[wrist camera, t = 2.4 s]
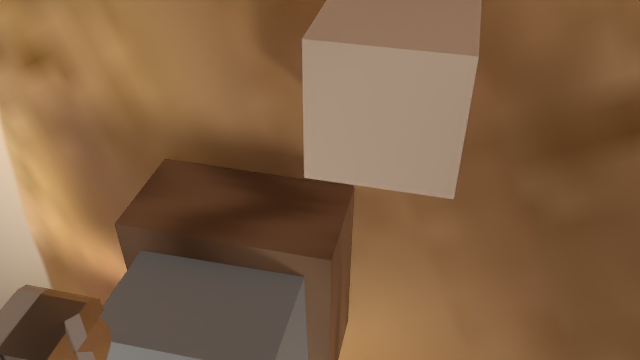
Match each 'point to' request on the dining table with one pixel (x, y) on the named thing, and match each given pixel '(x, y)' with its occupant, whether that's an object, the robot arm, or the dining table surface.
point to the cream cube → (389, 92)
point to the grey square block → (205, 312)
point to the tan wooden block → (253, 233)
